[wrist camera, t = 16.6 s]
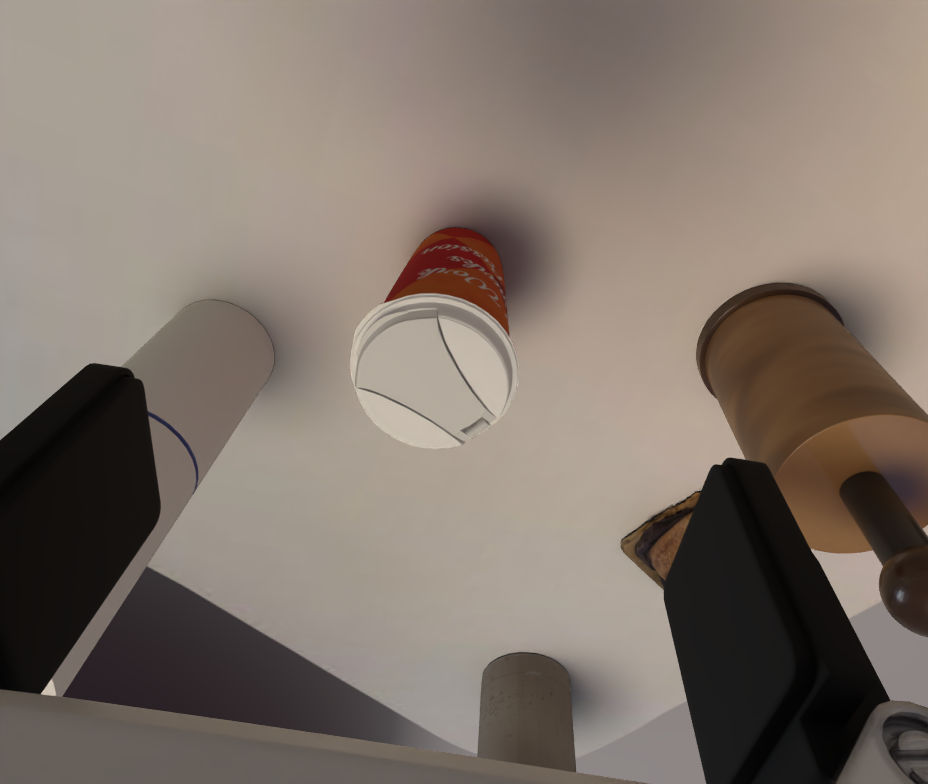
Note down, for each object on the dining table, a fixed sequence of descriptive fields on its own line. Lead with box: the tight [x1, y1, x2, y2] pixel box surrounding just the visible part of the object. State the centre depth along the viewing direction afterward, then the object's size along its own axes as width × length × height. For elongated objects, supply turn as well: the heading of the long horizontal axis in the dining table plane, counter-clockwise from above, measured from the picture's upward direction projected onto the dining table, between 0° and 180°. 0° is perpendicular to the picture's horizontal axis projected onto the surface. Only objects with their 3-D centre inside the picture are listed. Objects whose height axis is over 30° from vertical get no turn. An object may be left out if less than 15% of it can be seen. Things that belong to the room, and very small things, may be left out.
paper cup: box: [350, 228, 519, 449], centre depth 35 cm, size 8×8×14 cm
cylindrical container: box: [41, 300, 274, 697], centre depth 35 cm, size 7×7×25 cm
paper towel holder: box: [696, 283, 928, 637], centre depth 33 cm, size 9×9×22 cm
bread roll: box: [621, 493, 700, 590], centre depth 49 cm, size 11×8×4 cm
